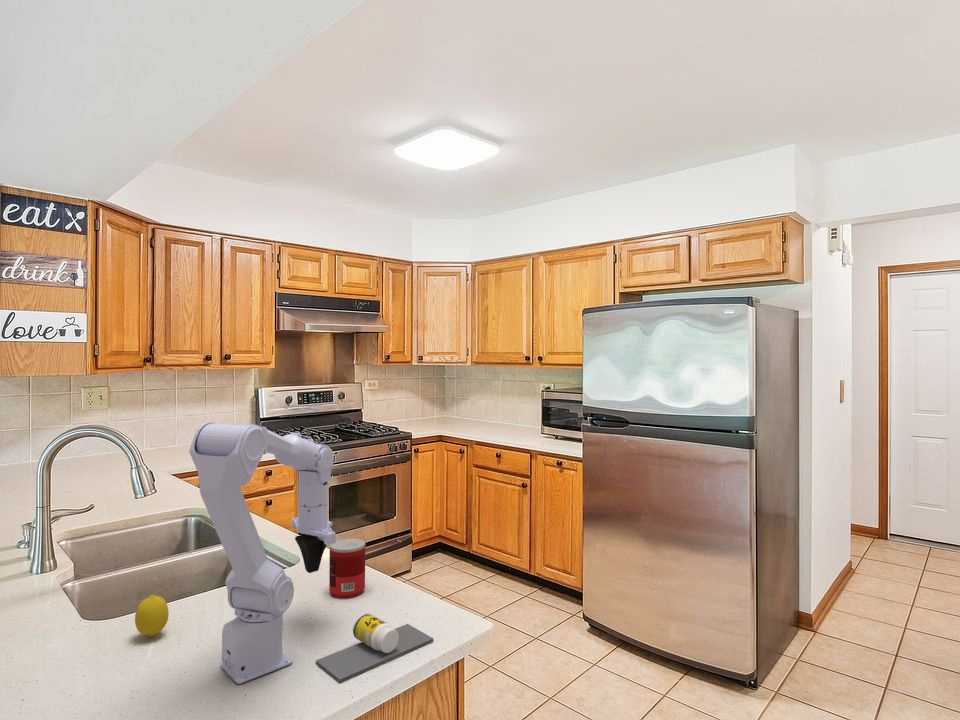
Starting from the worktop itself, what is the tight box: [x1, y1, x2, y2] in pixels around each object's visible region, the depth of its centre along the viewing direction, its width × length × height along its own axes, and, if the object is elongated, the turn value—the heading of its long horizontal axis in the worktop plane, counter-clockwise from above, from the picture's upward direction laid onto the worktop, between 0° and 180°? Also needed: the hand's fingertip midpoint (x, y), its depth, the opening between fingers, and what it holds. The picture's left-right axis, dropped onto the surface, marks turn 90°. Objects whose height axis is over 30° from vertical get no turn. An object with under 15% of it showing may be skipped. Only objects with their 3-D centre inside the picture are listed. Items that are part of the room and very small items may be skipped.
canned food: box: [328, 537, 366, 599], centre depth 131 cm, size 8×8×11 cm
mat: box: [315, 623, 434, 684], centre depth 105 cm, size 20×8×1 cm, turn 134°
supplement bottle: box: [352, 613, 399, 653], centre depth 106 cm, size 5×5×8 cm
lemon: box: [134, 594, 169, 638], centre depth 110 cm, size 6×6×8 cm
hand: (312, 570), depth 116 cm, fingers closed
